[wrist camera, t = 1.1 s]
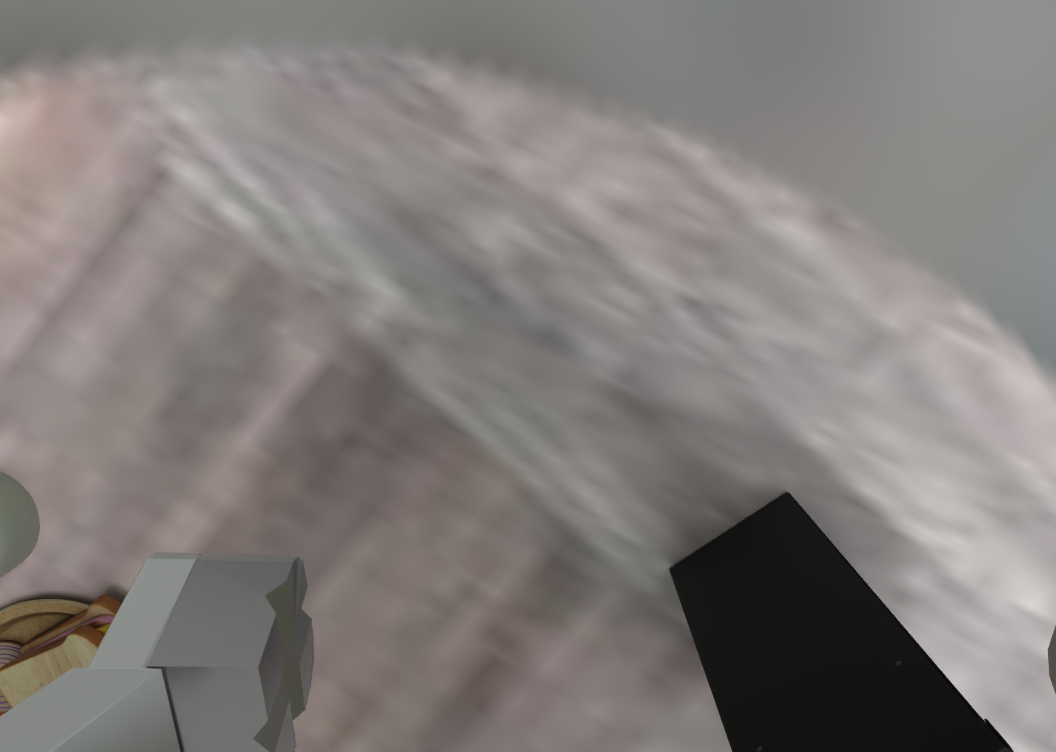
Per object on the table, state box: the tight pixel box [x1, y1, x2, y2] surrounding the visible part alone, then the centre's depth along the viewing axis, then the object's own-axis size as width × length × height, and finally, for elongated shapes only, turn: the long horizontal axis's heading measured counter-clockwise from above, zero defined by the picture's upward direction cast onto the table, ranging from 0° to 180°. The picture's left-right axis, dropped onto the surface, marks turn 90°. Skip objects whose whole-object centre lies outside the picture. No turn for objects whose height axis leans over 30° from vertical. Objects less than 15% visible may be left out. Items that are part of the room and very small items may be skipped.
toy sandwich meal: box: [0, 595, 122, 716], centre depth 52 cm, size 12×14×5 cm
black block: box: [669, 493, 1013, 752], centre depth 39 cm, size 8×8×28 cm
